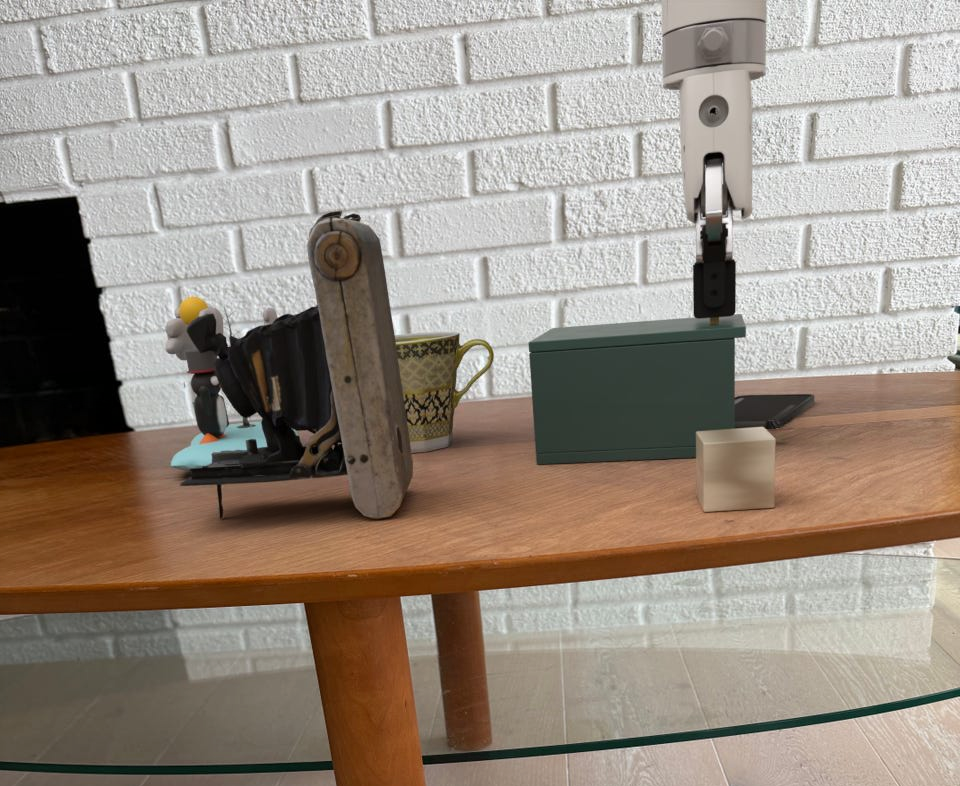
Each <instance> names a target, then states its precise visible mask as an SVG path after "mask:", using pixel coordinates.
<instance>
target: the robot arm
mask: <svg viewBox="0 0 960 786" xmlns="http://www.w3.org/2000/svg"><path fill="white" fill-rule="evenodd" d="M767 1H768V0H661V38H662V39H661V54H662V88H663V89H664V90H669V91H678V95H679V97H678V99H679V138H680V163H681V164H680V165H681V178H682V179H681V181H682V190H683V191H682V192H683V199H684V206H685V212H686V213H685V214H686V220H687V221H689V222H691V223H692V224H694V225H695V226H694V229H695V262H694V264H692V292H693V293H692V296H693V297H692V299H693V301H692V304H693V305H692V307H693V308H692V309H693V310H692V311H693V318H694V317H695V318H697V319H701V318H714V317H728V316H733V315H734V314H736V309H737V305H736V302H737V301H736V299H737V298H736V297H737V292H736V291H737V290H736V289H737V288H736V287H737V279H736V278H737V260H735V259H734V257H733V253H734V249H733V243H734V241H733V240H734V238H733V237H734V234H733V231H734V228H733V227H734V217H733V216H734V215H733V214H734V213H733V212H739V211H740V219H741V220H746V219H748V218H749V217H750V216H751V215H752V214H753V154H754V153H753V152H754V151H753V147H754V144H753V142H754V141H753V140H754V139H753V138H754V137H753V136H754V134H753V133H754V132H753V129H754V128H753V126H754V125H753V124H754V123H753V121H754V120H753V94H752V93H753V92H752V81H756V80H759V79H761V78H763V77H765V76H766V74H767V72H766V71H767V70H766V65H767V24H766V23H767Z"/></svg>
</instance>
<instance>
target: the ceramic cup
mask: <svg viewBox="0 0 960 786" xmlns="http://www.w3.org/2000/svg"><path fill="white" fill-rule="evenodd" d="M460 338H461V337H460V333H459V332H457V331H425V332H415V333H414V332H413V333H403V334H395V341H396V348H397V356H398V363H399V371H400V377H401V384H402V390H403V397H404V404H405V410H406V417H407V424H408V431H409V439H410V446H411V454H414V453H426V452H431V451H435V450H441V449H446V448H449V446H450V445H451V444H452V441H453V429H454V416H455V409H456V408H457V407H458V405H459V402H460V400H461V399H462V397H463V396H464V395H466V393H467V392H468V391H470V389H471V388H472V386H473V384H475V382H476V381H477V380H479V379H480V377H482V376H483V375H484V374H485V373H487V371H489V369H490V368H491V366H492V364H493V362H494V359H495V358H494V357H495V356H494V355H495V353H494V350H493V347H492V346H491V344H490V343H489V342H487V340H484V339H482V338H481V339H480V338H474V339H471V340H469V341H468V340H467V341H466V342H465V343H463V344H462V345H461V344H460ZM475 346H482V347H485V348H486V350H487V351H488V354H489V357H488V361H487V363H486V364H485V366H484V367H482V368H481V370H479V371H478V372H477V373H476V374H475V375H473V377H472V378H470V380H469V381H468V383H467V384H466V385H465V387H463V389H461V390H457V389H456V387H457V376H458V375H457V374H458V368H459V366H460V365H461V362H462V360H463V358H464V356H465V355H466V354H467V352H468V351H470V350H471V349H472V348H473V347H475Z"/></svg>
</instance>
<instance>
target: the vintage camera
mask: <svg viewBox="0 0 960 786" xmlns="http://www.w3.org/2000/svg"><path fill="white" fill-rule="evenodd" d="M342 215H343V211H342V210H337V211H331V212H327V213H323V214H322V215H321V216H320V217H319V218H318V219H317V220H316V222H315V223H314V224H313V226H312V227H310V230H309V233H308V239H307V244H306V248H307V249H306V251H307V258H308V259H307V260H308V265H309V269H310V275H311V278H312V283H313V287H314V293H315V300H316V305H315V306H311V307H309V308H307V309H304V310H303V311H301V312H299V313H295V314H291V313H285V314H282V315H280V316H279V317H278V316H277V319H276V320H275V321H274V322H273V323H272V324H269V325H264V324H261V325H257V326H255V327H253V328H251V329H249V330H248V331H246V333H245V335H244V336H242V337H239V338H238V337H235V336H234V335H232V336H231V337H230V336H229V337H230V338H229V337H228V340H229V344H230V343H231V345H230V346H228V341H227V336H225V334H224V335H222V334H221V333H218V334H216V319H215V316H214V313H212V314H205V315H203V316H200V317H198V318H196V319H194V320H193V321H191V323H190V324H189V326H188V327H187V333H188V335H189V337H190V339H191V340H192V342H193V343H194V345H195V347H196V348H197V349H198V351H199V352H200V354H201V353H204V352H207V351H214V354H215V356H217V357H218V358H217V359H216V360H215V361H214V363H213V364H214V371H215V374H216V377H217V379H218V381H219V384H220V386H221V391H222V393H223V394H224V395H225V397H226V399H227V400H228V402H229V403H230V405H231V407H232V408H233V409H234V410H235V411H236V413H237V414H238V415H239V416H241V417H242V418H243V417H244V418H247V419H250V418H249V417H250V416H251V417H252V416H254V415H258V416H260V417H261V421H260V422H261V425H262V430H263V433H264V435H265V438H266V443H267V447H261V448H257V442H256V439H249V440H246V447H247V450H234V451H230V450H227V451H221V452H213V453H212V463H211V464H209V465H207V466H203V468H194V469H190V471H189V472H190V477H188V478H187V479H185V480H183V481H182V482H180V483H179V487H196V486H197V487H198V486H199V487H200V486H216V493H217V499H218V513H219V520H221V519H222V518H223V517H224V507H223V503H222V502H223V493H222V491H223V490H222V485H239V484H240V485H241V484H259V483H274V482H275V483H276V482H287V481H297V480H310V479H311V480H312V479H324V478H326V479H327V478H333V477H340V476H341V477H343V476H347V479H348V484H349V490H350V498H351V499H352V502H353V504H354V507H355V509H357V510H358V511H359V513H361V515H362V516H363V517H366V518H367V517H368V518H371V519H374V520H380V519H385V518H390V517H392V516H393V515H394V514H395V512H396V511H397V510H398V509H399V508H400V507H401V505H402V502H403V500H404V499H405V496H406V493H407V491H408V488H409V486H410V485H411V481H412V479H413V475H414V461H413V456H412V453H411V446H410V439H409V431H408V424H407V417H406V410H405V404H404V397H403V390H402V384H401V377H400V371H399V363H398V356H397V348H396V341H395V335H396V334H395V329H394V323H393V317H392V311H391V303H390V296H389V289H388V283H387V277H386V276H387V275H386V268H385V263H384V256H383V251H382V247H381V245H382V244H381V239H380V238H379V236H378V235H377V234H376V232H375V231H374V230H373V228H372V227H371V226H370V225H369V224H366V223H364V222H361V220H362V217H361V215H360V214H358V213H350V214H348V215H345V216H343V217H342ZM233 336H234V337H233ZM293 429H294V430H296V431H297V432H300V431H302V432H303V431H308V432H309V433H312V435H311V437H310V438H309V440H308V442H307V443H306V446H303V444H302V442H301V438H300V435H297V436H296V434H295V432H294V430H293Z"/></svg>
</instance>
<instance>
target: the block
mask: <svg viewBox="0 0 960 786" xmlns="http://www.w3.org/2000/svg"><path fill="white" fill-rule="evenodd" d="M776 443H777V439H776V437H774V436H773V434H772V433H770V431H769V430H766V429H765V428H764V427H752V428H738V429H724V430H710V431H697V432H696V458H695V479H696V480H695V481H696V482H695V485H696V487H695V488H696V490H695V491H696V493H695V494H696V495H695V496H696V498H697V501H698V502H699V504H700V506H701V508H702V510H703V511H702V512H704V513H713V512H728V511H730V512H731V511H745V510H747V511H748V510H761V509H775V503H776V501H775V499H776V491H775V490H776V448H777V447H776Z"/></svg>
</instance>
